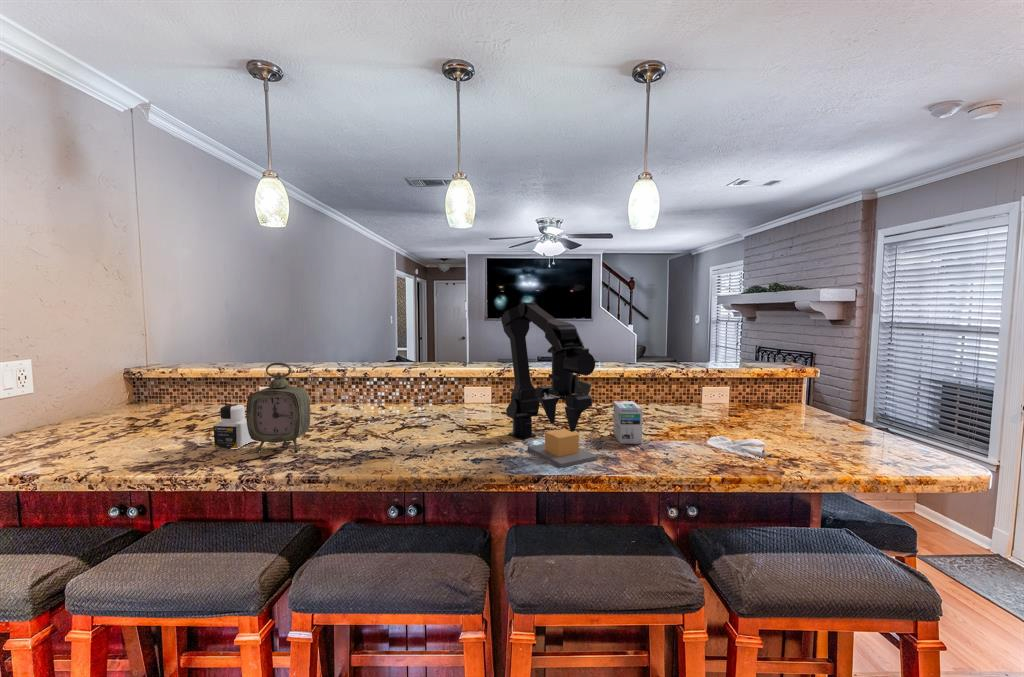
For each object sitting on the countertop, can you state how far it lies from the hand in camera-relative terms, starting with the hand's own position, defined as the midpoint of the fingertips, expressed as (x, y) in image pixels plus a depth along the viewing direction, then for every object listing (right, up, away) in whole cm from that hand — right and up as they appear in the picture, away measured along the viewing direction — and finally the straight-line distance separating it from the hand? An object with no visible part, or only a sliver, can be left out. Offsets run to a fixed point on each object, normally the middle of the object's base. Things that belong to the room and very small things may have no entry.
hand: (562, 427), depth 124 cm
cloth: (+53, -8, +6) cm, 54 cm away
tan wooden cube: (0, -7, +1) cm, 7 cm away
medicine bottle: (-95, -7, +10) cm, 96 cm away
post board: (0, -8, +1) cm, 8 cm away
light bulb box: (+21, -7, +15) cm, 27 cm away
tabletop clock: (-79, -8, +6) cm, 80 cm away
